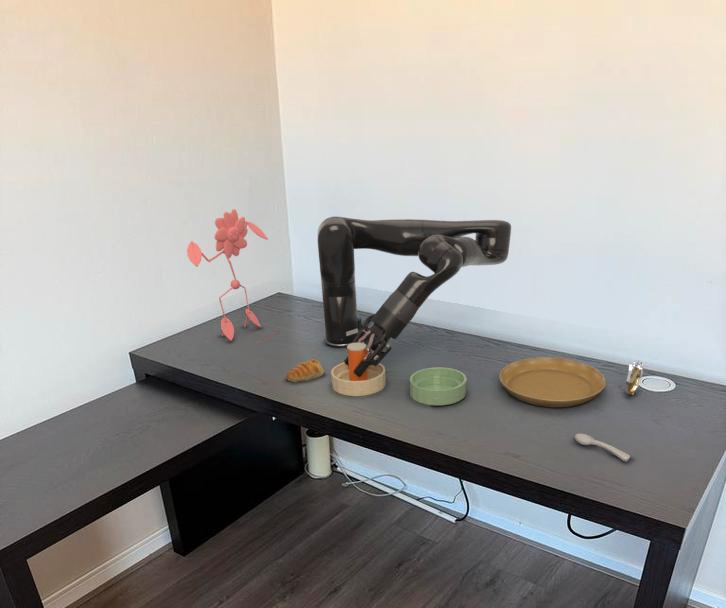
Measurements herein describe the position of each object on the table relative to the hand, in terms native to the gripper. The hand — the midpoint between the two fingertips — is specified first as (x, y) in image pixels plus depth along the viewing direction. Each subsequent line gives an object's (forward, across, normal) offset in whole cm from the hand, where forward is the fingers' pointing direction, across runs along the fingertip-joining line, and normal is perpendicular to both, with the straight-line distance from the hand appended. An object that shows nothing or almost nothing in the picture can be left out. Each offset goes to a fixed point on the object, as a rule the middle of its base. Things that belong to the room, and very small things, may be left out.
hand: (351, 369), depth 165 cm
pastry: (+10, +11, +2) cm, 15 cm away
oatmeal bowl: (+2, 0, -5) cm, 5 cm away
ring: (-37, -32, -44) cm, 66 cm away
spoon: (-21, -50, -28) cm, 62 cm away
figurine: (+15, +47, +8) cm, 50 cm away
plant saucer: (-26, -22, -33) cm, 48 cm away
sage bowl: (-9, -13, -15) cm, 22 cm away
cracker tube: (+2, 0, -4) cm, 5 cm away
